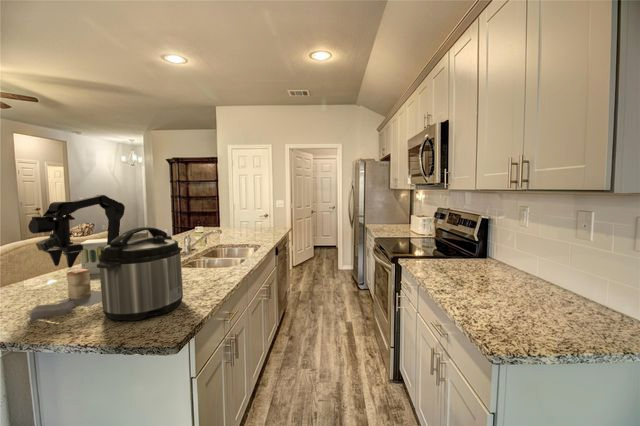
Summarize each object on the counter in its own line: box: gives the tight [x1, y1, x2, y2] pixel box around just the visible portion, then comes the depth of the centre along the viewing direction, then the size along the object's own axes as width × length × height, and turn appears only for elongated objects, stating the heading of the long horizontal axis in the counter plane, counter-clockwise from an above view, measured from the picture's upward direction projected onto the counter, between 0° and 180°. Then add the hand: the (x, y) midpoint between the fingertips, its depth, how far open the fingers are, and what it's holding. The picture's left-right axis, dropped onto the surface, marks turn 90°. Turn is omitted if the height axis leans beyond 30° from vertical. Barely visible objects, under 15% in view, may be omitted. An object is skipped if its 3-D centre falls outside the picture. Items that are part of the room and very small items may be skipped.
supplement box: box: [79, 238, 107, 275], centre depth 173 cm, size 13×13×18 cm
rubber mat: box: [57, 289, 102, 307], centre depth 130 cm, size 14×18×1 cm
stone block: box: [29, 301, 75, 322], centre depth 116 cm, size 12×5×10 cm
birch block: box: [66, 268, 92, 299], centre depth 131 cm, size 6×5×11 cm
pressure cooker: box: [97, 226, 184, 321], centre depth 118 cm, size 30×28×32 cm
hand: (63, 266), depth 133 cm, fingers open, 9 cm apart
